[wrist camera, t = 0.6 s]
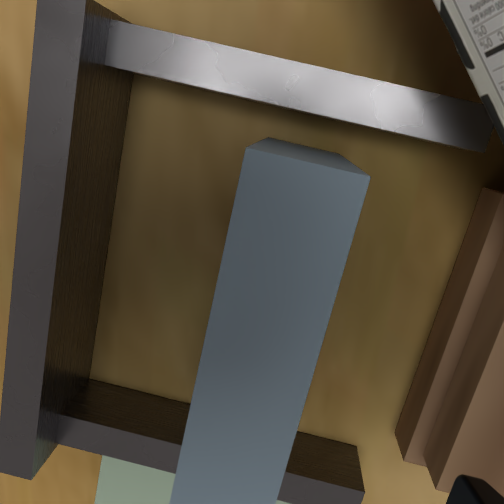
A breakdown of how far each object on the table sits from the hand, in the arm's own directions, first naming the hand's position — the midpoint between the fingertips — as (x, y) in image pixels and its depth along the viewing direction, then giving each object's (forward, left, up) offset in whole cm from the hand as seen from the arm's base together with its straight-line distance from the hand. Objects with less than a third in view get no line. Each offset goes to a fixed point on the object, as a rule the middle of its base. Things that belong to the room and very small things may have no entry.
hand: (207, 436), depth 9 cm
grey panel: (-1, +1, -13) cm, 13 cm away
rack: (+1, +1, -13) cm, 13 cm away
